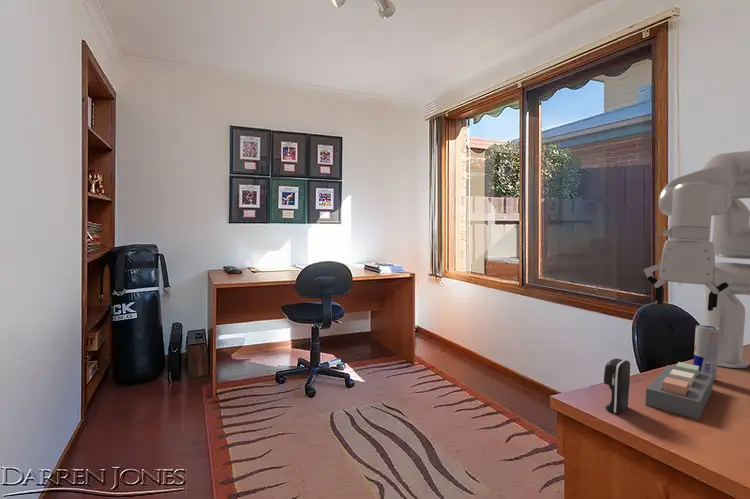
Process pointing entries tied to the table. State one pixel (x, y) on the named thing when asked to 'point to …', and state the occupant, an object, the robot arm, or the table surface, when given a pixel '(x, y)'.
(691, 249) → the robot arm
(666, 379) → the terracotta button
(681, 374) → the cream button
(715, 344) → the beverage can
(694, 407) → the frame
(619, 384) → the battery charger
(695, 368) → the sage button
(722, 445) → the table surface
